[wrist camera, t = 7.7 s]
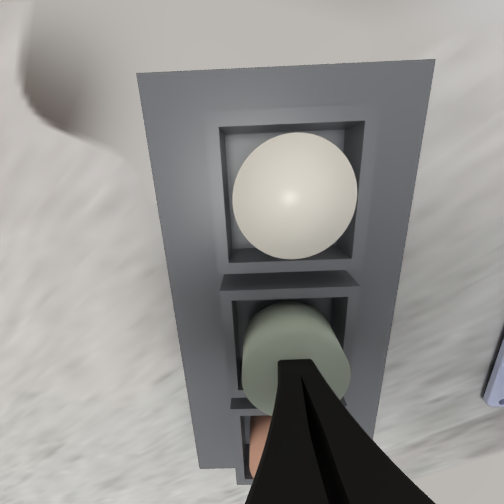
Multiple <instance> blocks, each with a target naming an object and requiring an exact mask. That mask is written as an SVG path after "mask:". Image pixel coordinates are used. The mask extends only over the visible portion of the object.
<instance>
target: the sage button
mask: <svg viewBox="0 0 504 504" xmlns="http://www.w3.org/2000/svg"><path fill="white" fill-rule="evenodd" d="M290 359H311V360H312V361H313V362H314V363H315V365H316V367H317V368H318V370H319V371H320V373H321V374H322V376H323V377H324V379H325V380H326V382H327V383H328V385H329V386H330V387H331V389H332V390H333V392H334V393H335V394H336V396H337V397H338V398H339V400H341V399H342V397H343V396H344V395H345V393H346V391H347V389H348V387H349V384H350V379H351V370H350V365H349V362H348V360H347V358H346V356H345V354H344V352H343V350H342V348H341V346H340V344H339V342H338V340H337V338H336V336H335V334H334V332H333V330H332V328H331V326H330V324H329V322H328V320H327V319H326V317H325V316H324V315H323V314H322V313H321V312H320V311H319V310H317V309H316V308H314V307H312V306H310V305H308V304H305V303H301V302H294V301H286V302H279V303H275V304H272V305H269V306H267V307H265V308H263V309H262V310H260V311H259V312H258V313H257V314H255V315H254V316H253V318H252V319H251V320H250V322H249V323H248V325H247V327H246V330H245V333H244V342H243V361H242V387H243V390H244V393H245V395H246V396H247V398H248V399H249V401H250V402H251V403H252V404H253V405H254V406H255V407H256V408H258V409H259V410H261V411H262V412H264V413H266V414H268V415H271V416H272V414H273V410H274V404H275V398H276V392H277V385H278V361H280V360H290Z"/></svg>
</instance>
